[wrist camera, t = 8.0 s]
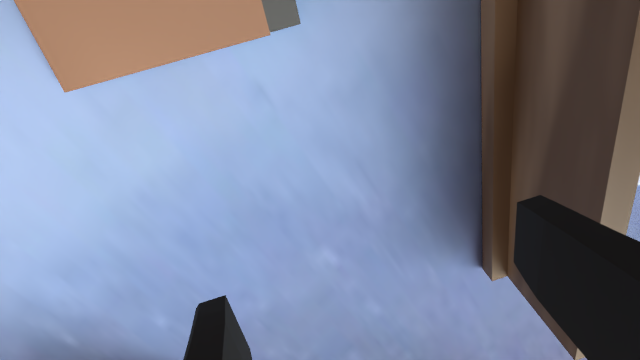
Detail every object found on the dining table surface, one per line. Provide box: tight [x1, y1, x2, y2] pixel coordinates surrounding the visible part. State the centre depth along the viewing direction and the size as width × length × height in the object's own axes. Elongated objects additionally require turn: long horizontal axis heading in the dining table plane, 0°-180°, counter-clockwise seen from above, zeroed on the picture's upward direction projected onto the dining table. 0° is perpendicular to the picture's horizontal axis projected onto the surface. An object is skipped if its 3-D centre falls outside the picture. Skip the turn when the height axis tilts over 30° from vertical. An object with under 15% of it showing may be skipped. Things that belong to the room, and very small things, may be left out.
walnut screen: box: [481, 0, 640, 360], centre depth 19 cm, size 3×20×6 cm, turn 12°
